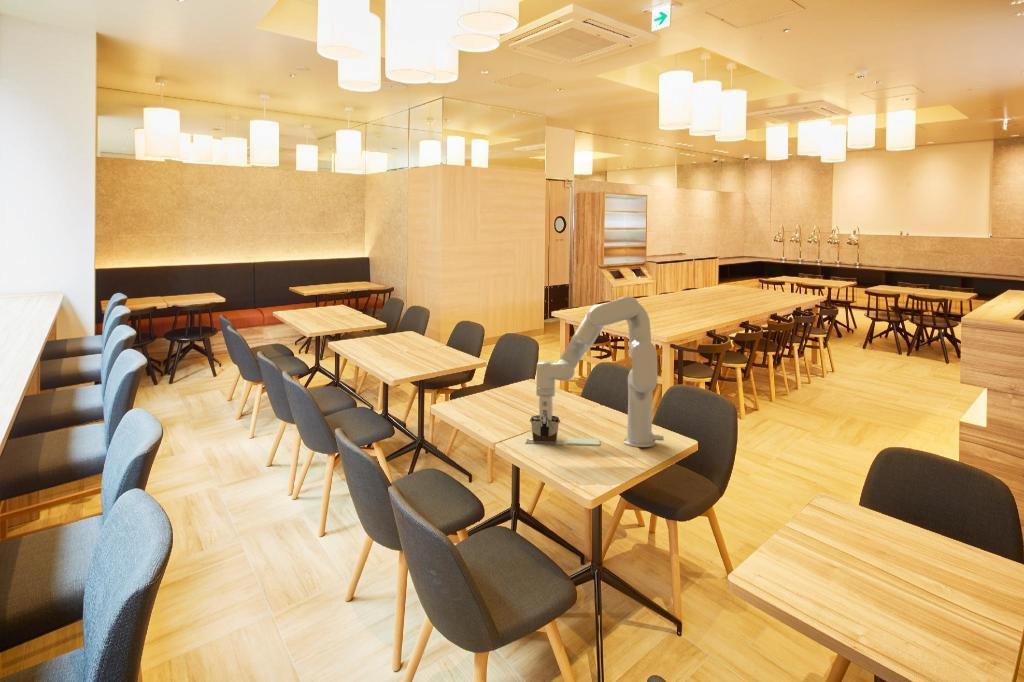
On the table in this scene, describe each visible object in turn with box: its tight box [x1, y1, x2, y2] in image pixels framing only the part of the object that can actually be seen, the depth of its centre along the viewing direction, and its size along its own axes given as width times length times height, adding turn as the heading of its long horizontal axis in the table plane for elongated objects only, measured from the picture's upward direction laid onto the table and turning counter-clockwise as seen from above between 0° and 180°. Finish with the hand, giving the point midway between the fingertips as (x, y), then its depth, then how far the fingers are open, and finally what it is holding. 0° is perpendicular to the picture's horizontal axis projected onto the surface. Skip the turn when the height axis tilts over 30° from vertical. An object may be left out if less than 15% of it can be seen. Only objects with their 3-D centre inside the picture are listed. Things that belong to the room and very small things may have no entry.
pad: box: [566, 437, 601, 447], centre depth 225 cm, size 13×11×1 cm
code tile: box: [525, 438, 564, 446], centre depth 225 cm, size 15×11×1 cm
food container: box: [529, 414, 561, 443], centre depth 225 cm, size 12×6×10 cm, turn 84°
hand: (545, 433), depth 225 cm, fingers open, 9 cm apart
